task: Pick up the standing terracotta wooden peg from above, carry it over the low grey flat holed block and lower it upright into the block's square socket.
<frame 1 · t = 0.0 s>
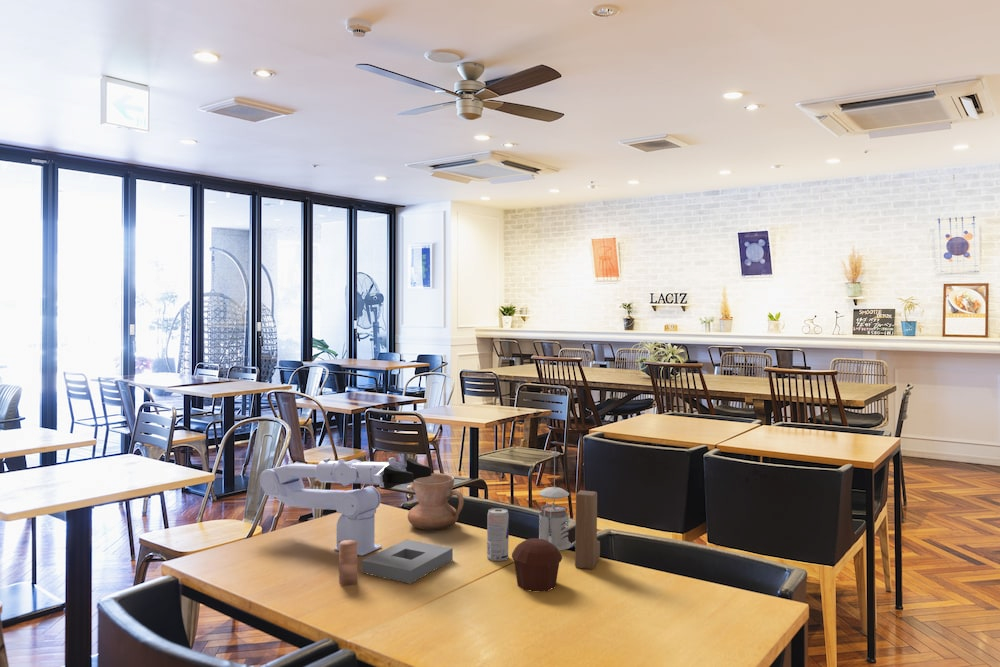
hand: (421, 474, 175), 22 cm above the table, tool horizontal, fingers open, 7 cm apart
grey flat holed block: (408, 566, 173), on the table
muffin: (536, 585, 162), on the table
wooden block: (587, 563, 176), on the table
energy drink: (497, 558, 179), on the table
terracotta peg: (348, 582, 162), on the table
ceramic jug: (434, 527, 205), on the table
french press: (552, 546, 190), on the table
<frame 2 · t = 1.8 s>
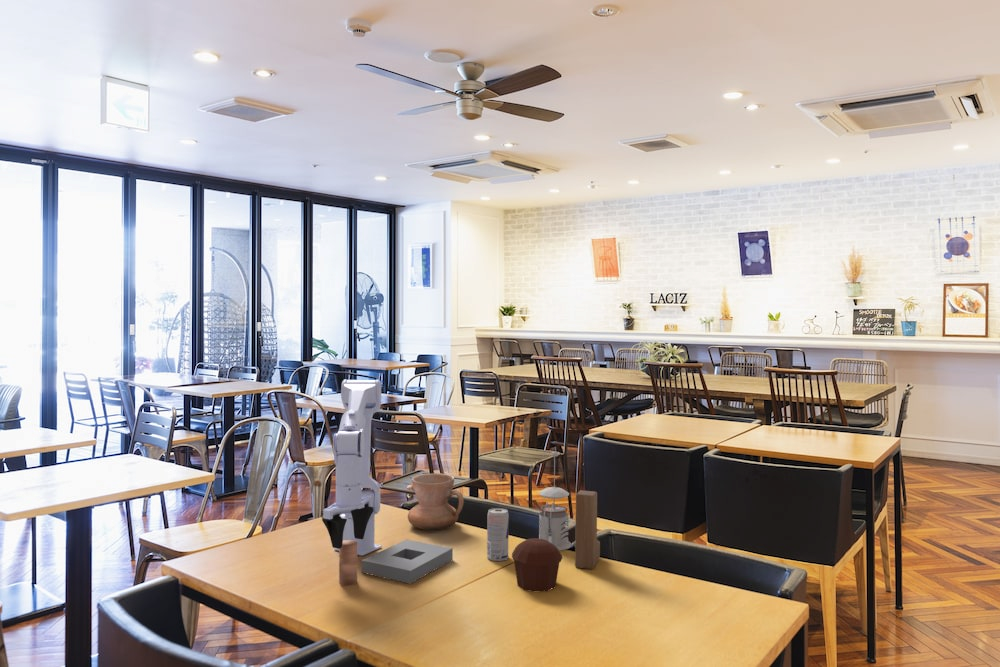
hand: (348, 543, 162), 9 cm above the table, tool pointing down, fingers open, 7 cm apart
nothing on the table moved.
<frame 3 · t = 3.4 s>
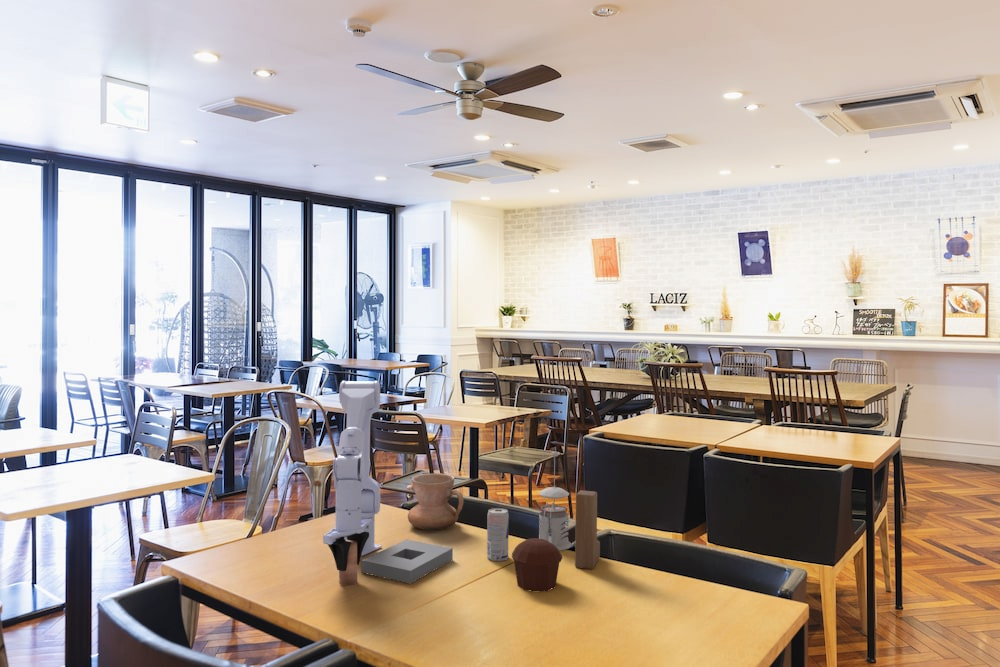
hand: (348, 567, 162), 3 cm above the table, tool pointing down, fingers closed on terracotta peg, 4 cm apart
terracotta peg: (348, 582, 162), on the table, touching gripper
everything else where it was.
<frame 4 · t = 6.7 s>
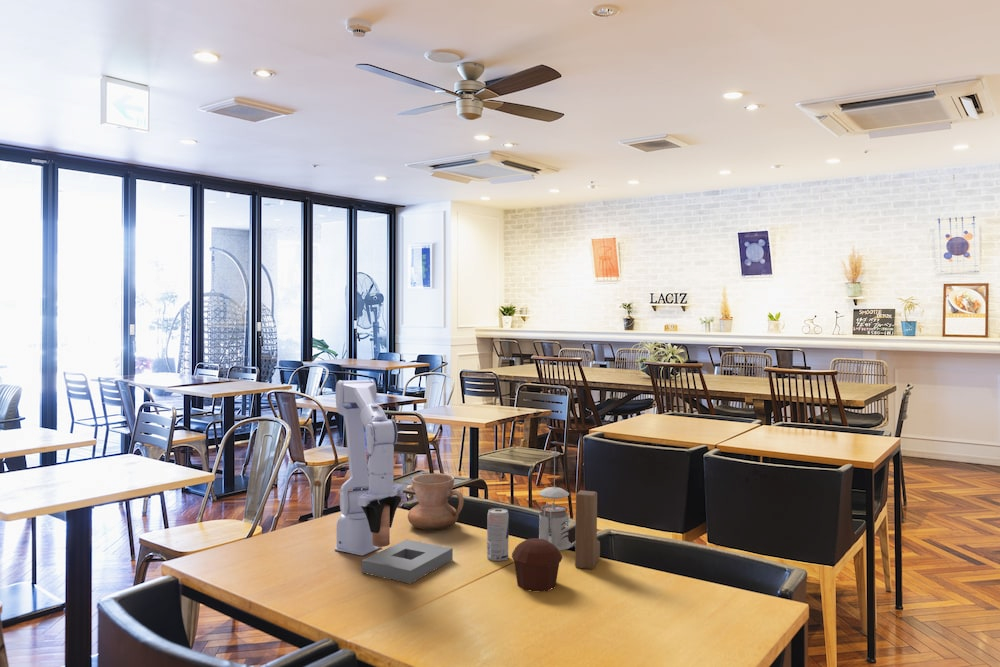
hand: (381, 529, 168), 10 cm above the table, tool pointing down, fingers closed on terracotta peg, 4 cm apart
terracotta peg: (380, 544, 168), point 7 cm above the table, touching gripper
everything else where it was.
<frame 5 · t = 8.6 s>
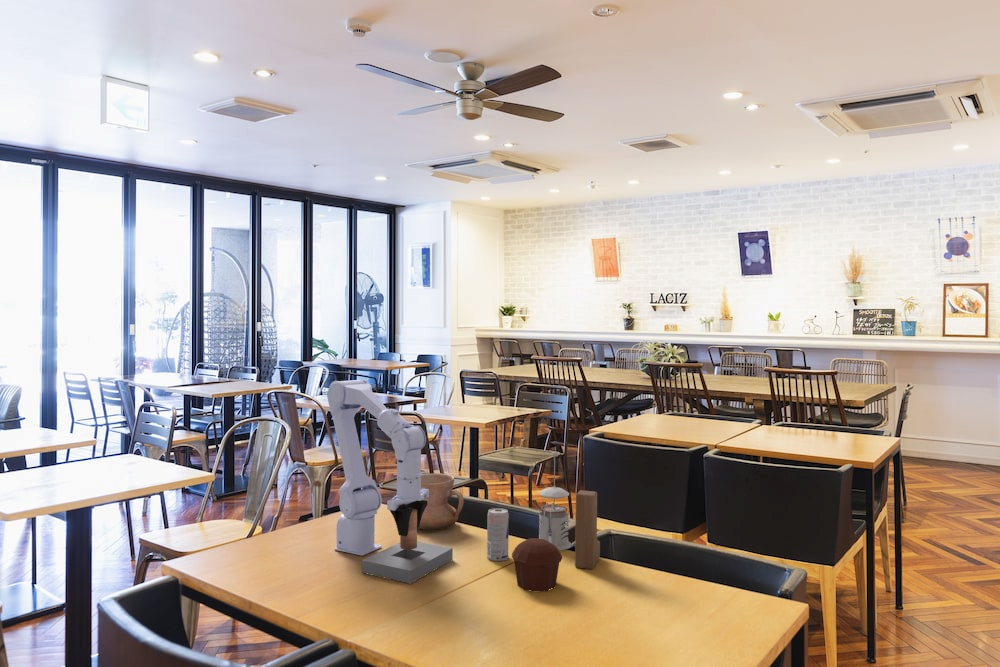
hand: (408, 533, 173), 8 cm above the table, tool pointing down, fingers closed on terracotta peg, 4 cm apart
terracotta peg: (408, 547, 173), point 5 cm above the table, touching gripper
everything else where it was.
when the fingers open (5 cm above the table, at t = 10.1 s): terracotta peg drops 1 cm, resting in grey flat holed block.
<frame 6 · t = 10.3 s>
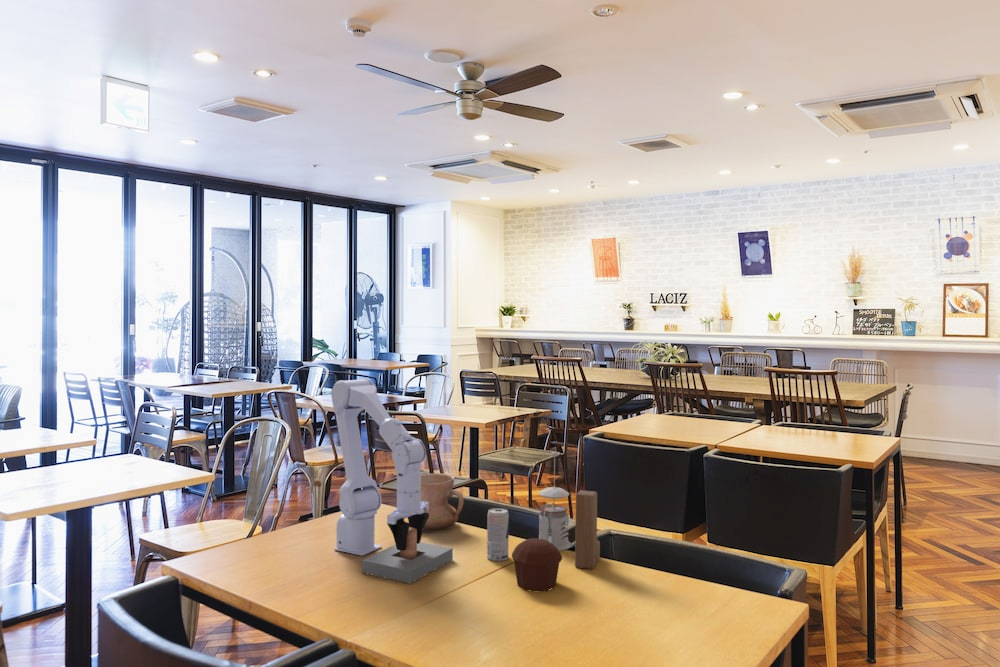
hand: (408, 546, 173), 5 cm above the table, tool pointing down, fingers open, 5 cm apart
terracotta peg: (408, 566, 173), resting in grey flat holed block
everything else where it was.
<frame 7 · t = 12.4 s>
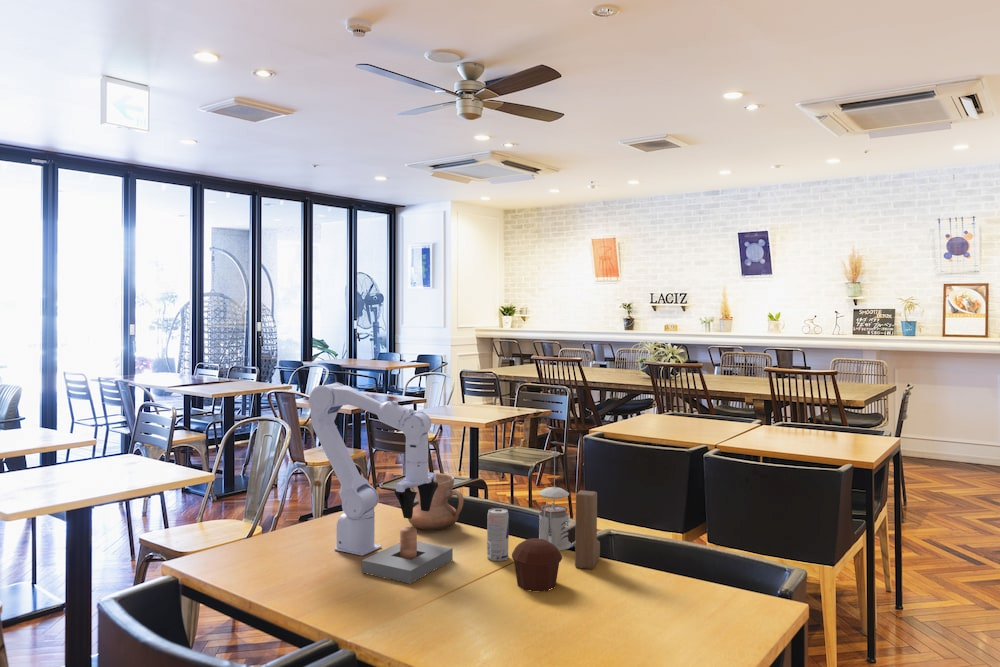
hand: (416, 514, 181), 10 cm above the table, tool pointing down, fingers open, 7 cm apart
nothing on the table moved.
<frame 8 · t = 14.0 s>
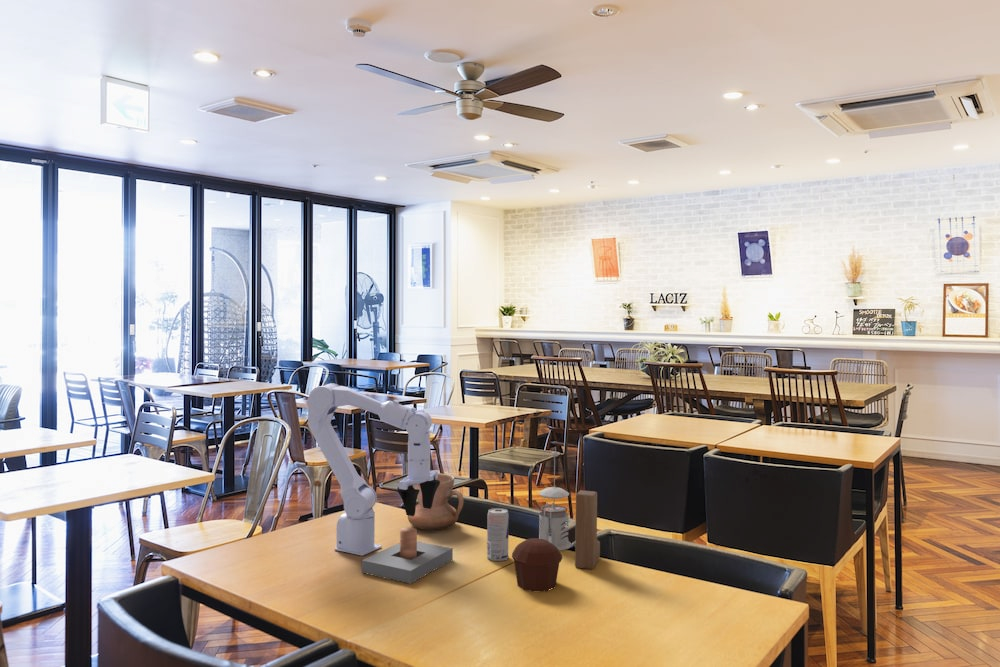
hand: (419, 511, 183), 10 cm above the table, tool pointing down, fingers open, 7 cm apart
nothing on the table moved.
at the end: terracotta peg 0.0 cm off-centre on the grey flat holed block, point 0.0 cm above the grey flat holed block's base; terracotta peg tilted 0°; the gripper is holding nothing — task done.
